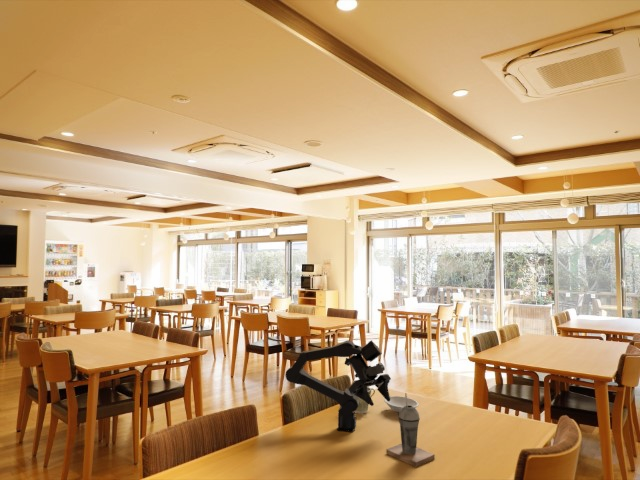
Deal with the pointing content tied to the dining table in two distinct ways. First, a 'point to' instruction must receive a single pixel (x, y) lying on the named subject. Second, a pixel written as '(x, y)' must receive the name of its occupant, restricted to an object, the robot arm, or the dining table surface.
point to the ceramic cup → (363, 403)
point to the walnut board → (415, 459)
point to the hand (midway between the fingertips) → (381, 403)
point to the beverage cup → (408, 428)
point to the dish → (400, 402)
